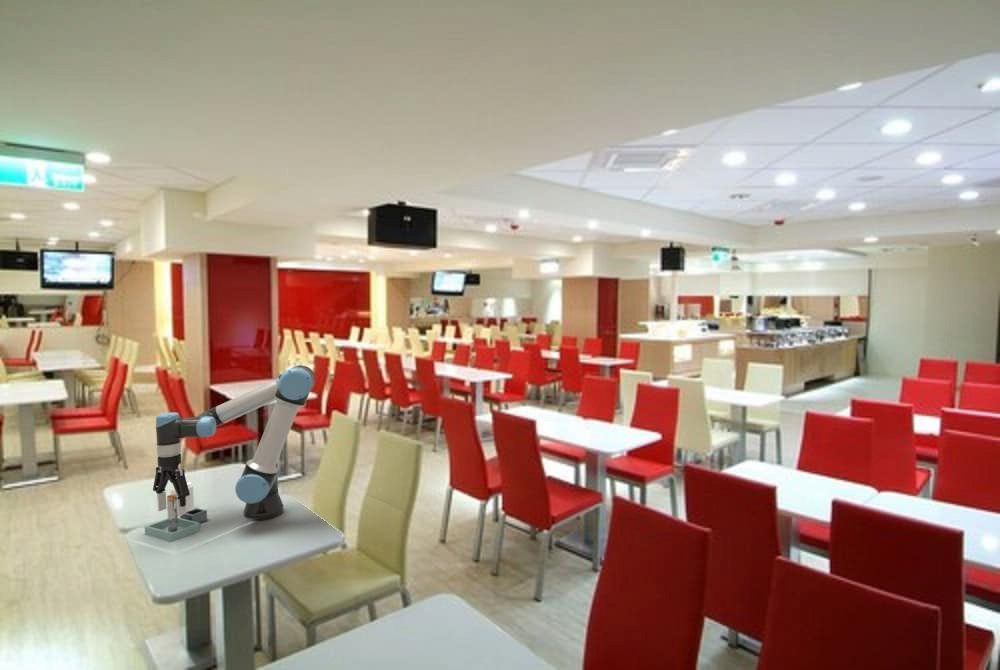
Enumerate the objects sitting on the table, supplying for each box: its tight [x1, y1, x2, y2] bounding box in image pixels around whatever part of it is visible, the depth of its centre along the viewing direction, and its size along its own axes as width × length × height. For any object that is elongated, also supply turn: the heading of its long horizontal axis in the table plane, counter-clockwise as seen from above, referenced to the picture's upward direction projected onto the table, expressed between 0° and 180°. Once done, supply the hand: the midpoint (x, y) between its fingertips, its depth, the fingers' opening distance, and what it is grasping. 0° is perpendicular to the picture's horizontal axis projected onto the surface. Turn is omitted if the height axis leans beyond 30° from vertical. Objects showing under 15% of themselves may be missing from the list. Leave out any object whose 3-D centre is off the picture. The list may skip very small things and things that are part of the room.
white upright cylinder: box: [170, 481, 195, 512], centre depth 225 cm, size 8×8×12 cm
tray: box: [144, 517, 201, 542], centre depth 202 cm, size 16×11×4 cm
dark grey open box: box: [179, 507, 211, 525], centre depth 213 cm, size 12×8×5 cm, turn 63°
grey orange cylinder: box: [166, 494, 179, 533], centre depth 202 cm, size 3×3×14 cm
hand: (171, 512), depth 202 cm, fingers open, 11 cm apart
